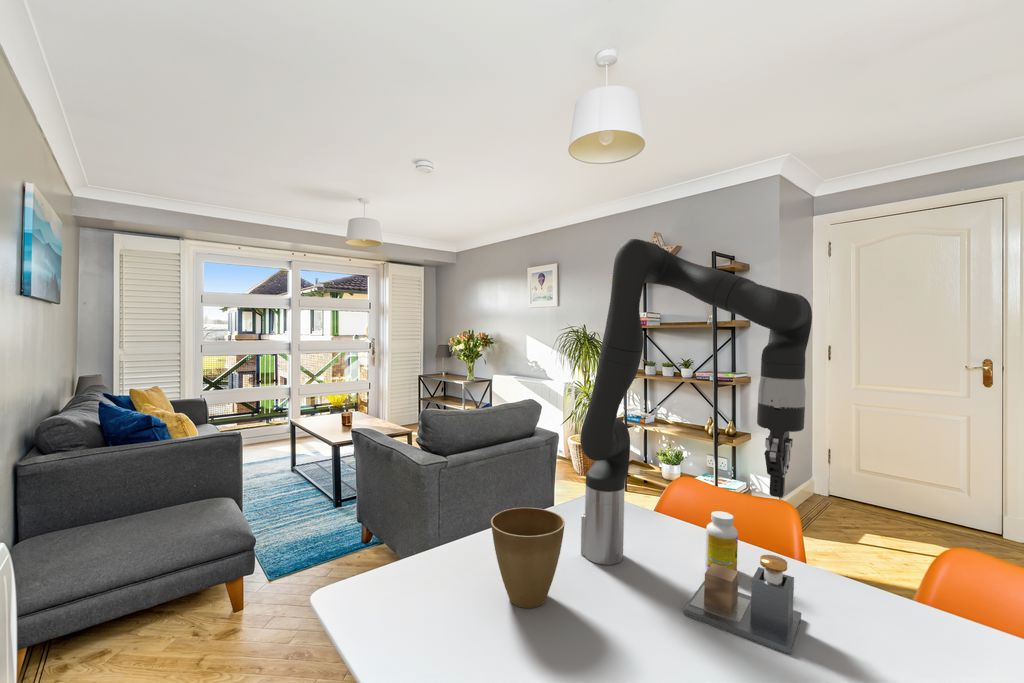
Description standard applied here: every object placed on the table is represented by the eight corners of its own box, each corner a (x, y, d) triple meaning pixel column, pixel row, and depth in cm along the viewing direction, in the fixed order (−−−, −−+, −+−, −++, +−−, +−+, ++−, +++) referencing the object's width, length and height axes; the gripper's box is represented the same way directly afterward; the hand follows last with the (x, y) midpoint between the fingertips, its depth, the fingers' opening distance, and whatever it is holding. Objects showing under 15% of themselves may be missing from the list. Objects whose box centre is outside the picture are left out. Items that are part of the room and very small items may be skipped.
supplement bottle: (740, 579, 106) (742, 522, 105) (708, 576, 107) (710, 519, 107) (732, 564, 112) (734, 510, 112) (702, 561, 114) (704, 508, 113)
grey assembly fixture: (683, 614, 93) (685, 567, 92) (703, 586, 103) (705, 544, 103) (790, 655, 82) (792, 602, 81) (801, 618, 92) (802, 571, 92)
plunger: (756, 619, 89) (758, 561, 88) (760, 608, 92) (762, 552, 92) (783, 629, 86) (785, 568, 86) (787, 617, 90) (789, 559, 89)
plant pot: (572, 588, 101) (574, 513, 101) (547, 628, 88) (549, 542, 87) (509, 572, 108) (510, 501, 107) (476, 607, 94) (477, 526, 94)
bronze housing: (704, 603, 94) (704, 573, 94) (711, 592, 98) (712, 563, 98) (731, 612, 91) (732, 581, 91) (737, 601, 95) (738, 571, 95)
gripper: (765, 395, 95) (761, 482, 96) (750, 404, 85) (746, 500, 85) (809, 400, 90) (805, 491, 91) (799, 409, 80) (794, 511, 81)
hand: (776, 495), depth 88 cm, fingers closed
